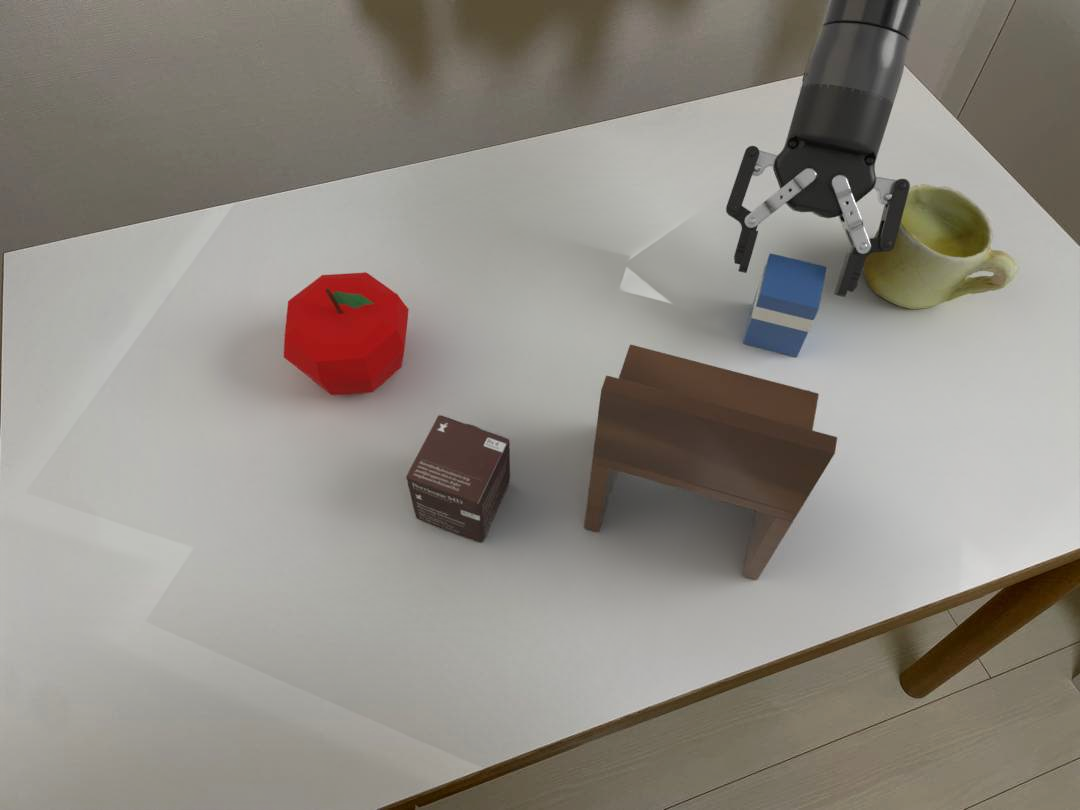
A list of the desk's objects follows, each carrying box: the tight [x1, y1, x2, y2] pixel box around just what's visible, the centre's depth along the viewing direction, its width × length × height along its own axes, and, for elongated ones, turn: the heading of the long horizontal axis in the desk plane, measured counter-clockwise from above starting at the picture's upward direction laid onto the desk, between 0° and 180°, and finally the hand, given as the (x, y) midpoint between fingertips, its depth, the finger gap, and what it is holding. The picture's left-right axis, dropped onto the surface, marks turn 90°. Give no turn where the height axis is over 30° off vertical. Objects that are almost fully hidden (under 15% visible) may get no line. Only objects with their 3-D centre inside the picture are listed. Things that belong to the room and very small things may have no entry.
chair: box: [583, 344, 838, 581], centre depth 61 cm, size 10×14×20 cm
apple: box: [283, 271, 409, 396], centre depth 72 cm, size 11×11×10 cm
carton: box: [742, 252, 827, 358], centre depth 76 cm, size 5×5×7 cm
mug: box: [862, 184, 1019, 310], centre depth 79 cm, size 12×10×10 cm
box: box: [405, 414, 511, 544], centre depth 66 cm, size 6×6×7 cm
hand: (790, 283), depth 74 cm, fingers open, 8 cm apart
